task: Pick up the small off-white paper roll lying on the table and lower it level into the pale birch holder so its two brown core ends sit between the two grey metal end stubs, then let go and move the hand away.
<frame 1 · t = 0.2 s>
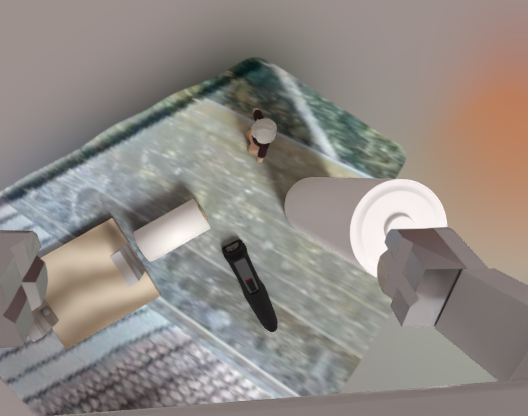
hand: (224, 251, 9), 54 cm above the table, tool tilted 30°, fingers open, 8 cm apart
grandmother figurine: (255, 138, 63), on the table
electric trimmer: (251, 282, 65), on the table
paper roll: (174, 227, 62), on the table
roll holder: (91, 282, 61), on the table
cylinder container: (312, 205, 65), on the table
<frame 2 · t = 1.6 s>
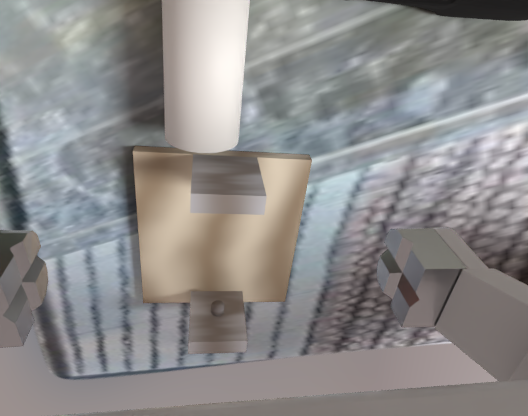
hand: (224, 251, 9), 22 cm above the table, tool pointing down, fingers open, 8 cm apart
paper roll: (216, 58, 28), on the table, tilted 19°
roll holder: (219, 231, 36), on the table
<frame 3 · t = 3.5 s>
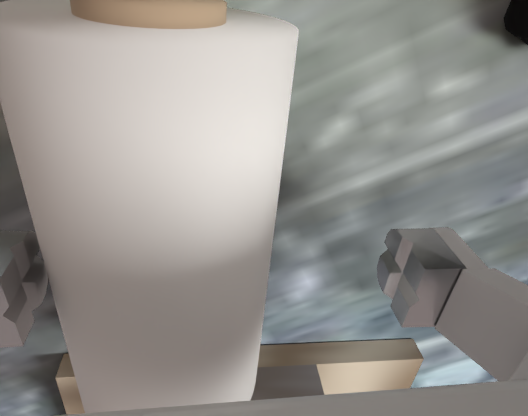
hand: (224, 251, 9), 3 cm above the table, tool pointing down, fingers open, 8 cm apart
paper roll: (262, 223, 11), point 2 cm above the table, tilted 73°
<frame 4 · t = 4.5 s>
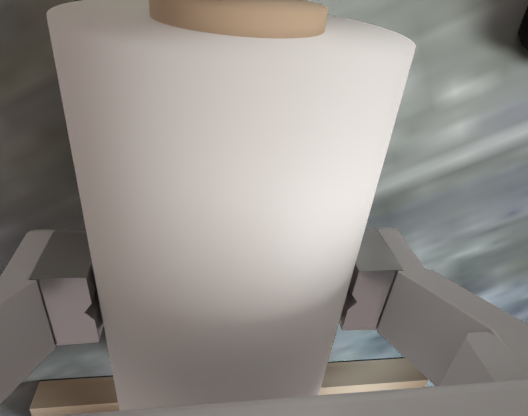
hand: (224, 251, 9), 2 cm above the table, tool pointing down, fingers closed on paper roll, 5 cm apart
paper roll: (272, 214, 11), on the table, tilted 32°, touching gripper
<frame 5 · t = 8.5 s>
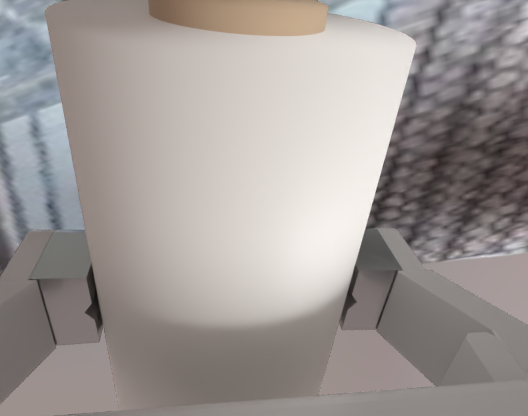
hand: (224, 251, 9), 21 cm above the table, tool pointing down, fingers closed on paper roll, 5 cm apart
paper roll: (272, 213, 11), point 19 cm above the table, tilted 32°, touching gripper
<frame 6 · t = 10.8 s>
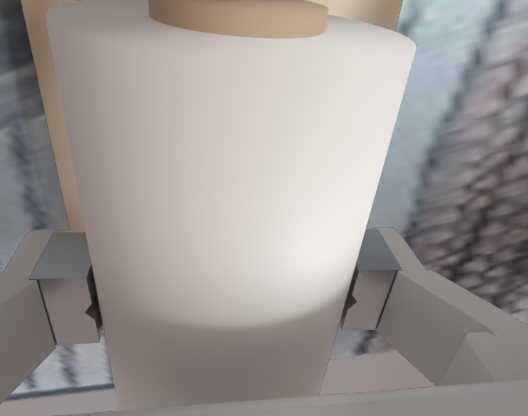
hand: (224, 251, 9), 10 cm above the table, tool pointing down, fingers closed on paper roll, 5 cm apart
paper roll: (272, 214, 11), point 9 cm above the table, tilted 31°, touching gripper
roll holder: (218, 110, 18), on the table
when the fingers open (4 cm above the table, at t = 12.8 s): paper roll drops 1 cm, resting on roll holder.
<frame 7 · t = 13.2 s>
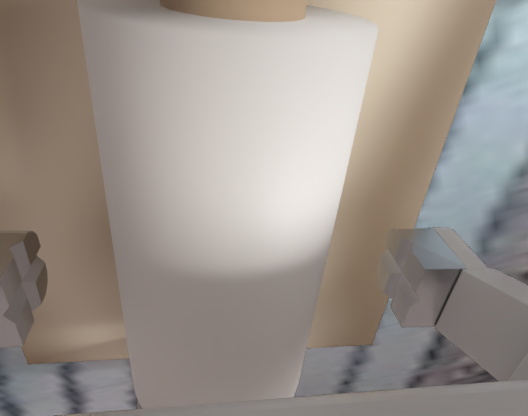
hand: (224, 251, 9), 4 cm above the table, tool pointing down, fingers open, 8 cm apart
paper roll: (265, 187, 12), point 1 cm above the table, tilted 32°, touching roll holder
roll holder: (216, 169, 13), on the table
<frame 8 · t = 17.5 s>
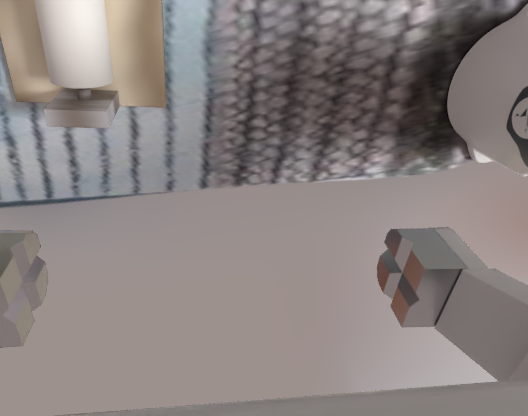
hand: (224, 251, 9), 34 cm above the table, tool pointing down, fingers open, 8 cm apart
paper roll: (96, 16, 35), point 1 cm above the table, tilted 32°, touching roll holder
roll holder: (83, 14, 36), on the table
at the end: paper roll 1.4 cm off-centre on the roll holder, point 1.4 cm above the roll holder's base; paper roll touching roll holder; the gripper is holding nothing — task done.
